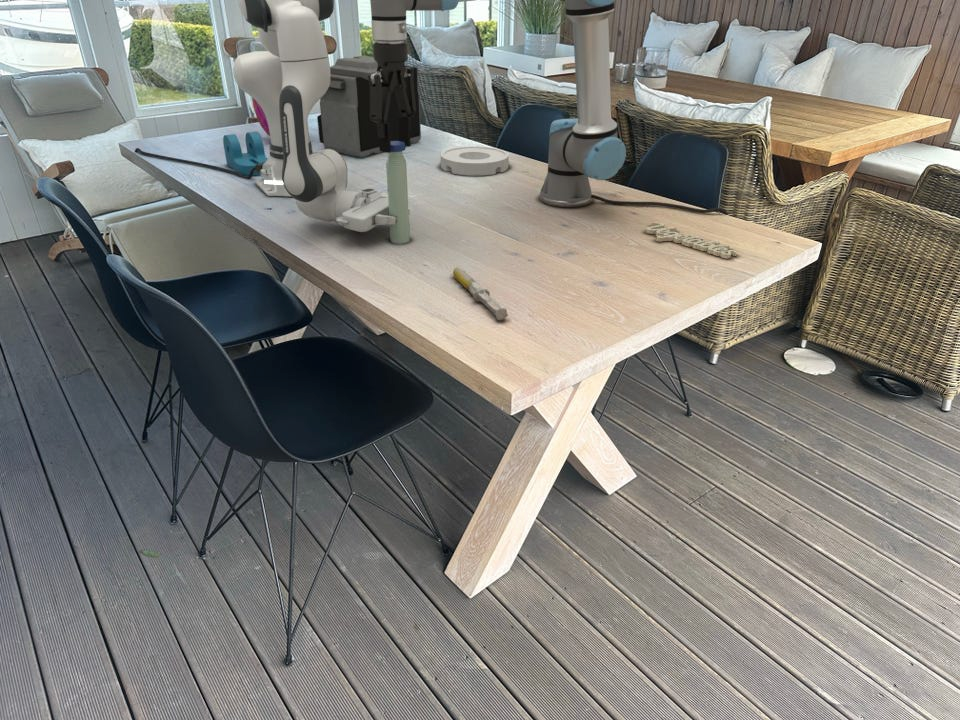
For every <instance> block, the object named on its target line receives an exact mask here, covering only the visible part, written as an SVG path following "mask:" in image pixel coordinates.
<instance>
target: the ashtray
mask: <svg viewBox="0 0 960 720" xmlns="http://www.w3.org/2000/svg"><path fill="white" fill-rule="evenodd" d="M509 157H510V154H509V153H508V152H507V151H505V150H503V149H500V148H496V147H489V146H481V145H480V146H479V145H478V146H477V145H472V146H470V145H468V146H467V145H465V146H457V147H451V148H447V149H444V150H443V151H441V152H440V168H441V169H442V170H443V171H444V172H451V174H454V175H460V176H470V177H471V176H472V177H473V176H480V177H481V176H491V175H496V173H503V172H505V171H507V170H508V169H509V162H510V161H509V159H510V158H509Z"/></svg>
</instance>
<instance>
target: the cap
mask: <svg viewBox="0 0 960 720" xmlns="http://www.w3.org/2000/svg"><path fill="white" fill-rule="evenodd" d="M390 142H391V152H401V151H403V152H404V151H405V150H406V146H405V143H404V142H402V141H390Z"/></svg>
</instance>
